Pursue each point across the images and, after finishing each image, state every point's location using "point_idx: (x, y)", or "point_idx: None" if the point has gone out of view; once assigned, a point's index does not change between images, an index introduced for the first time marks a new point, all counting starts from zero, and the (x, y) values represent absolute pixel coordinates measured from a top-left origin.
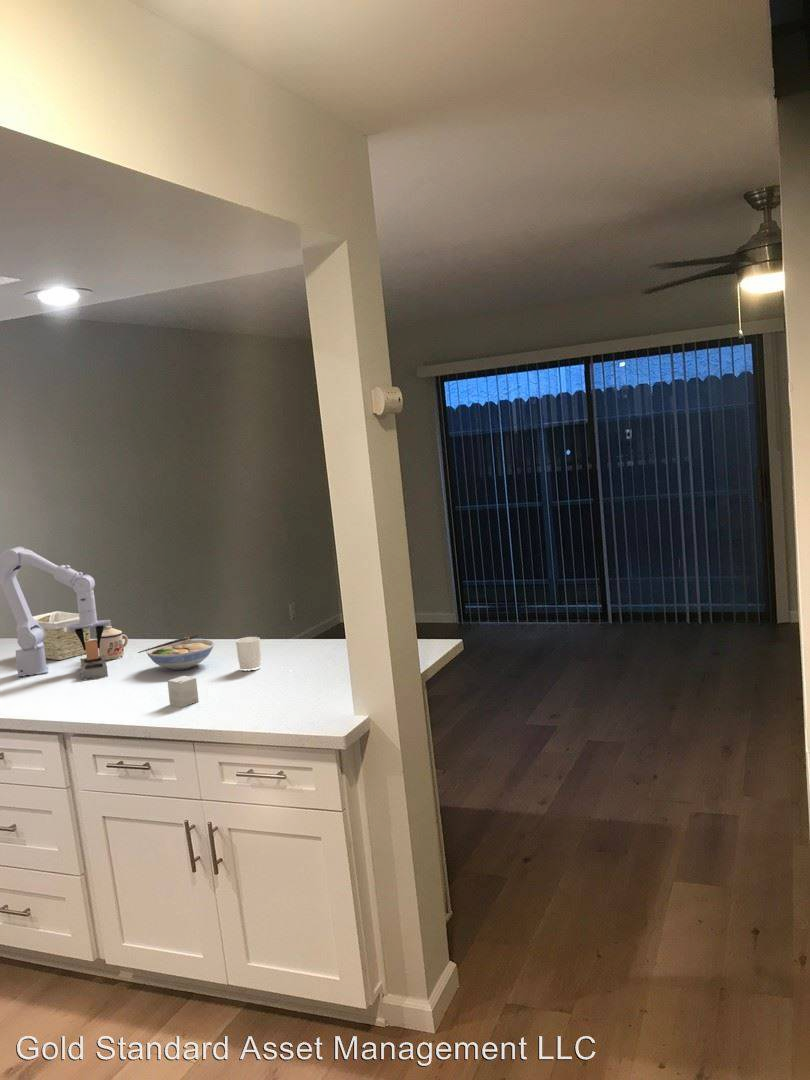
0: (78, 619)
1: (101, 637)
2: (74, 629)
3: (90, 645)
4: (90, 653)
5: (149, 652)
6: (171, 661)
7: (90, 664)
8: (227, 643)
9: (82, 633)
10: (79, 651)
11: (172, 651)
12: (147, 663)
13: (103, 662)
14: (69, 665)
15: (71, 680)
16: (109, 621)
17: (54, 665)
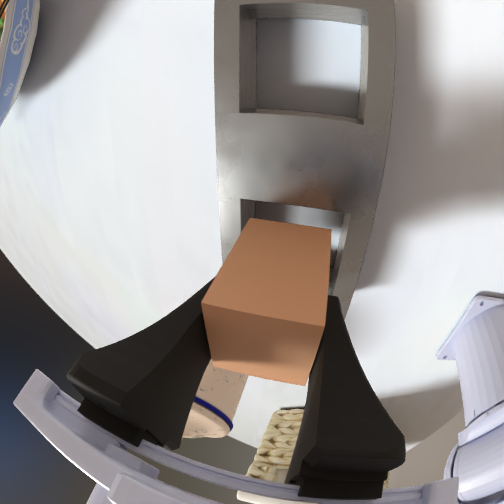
0: (272, 500)
1: (208, 406)
2: (381, 497)
3: (276, 294)
4: (297, 250)
5: (10, 40)
6: None
7: (322, 131)
8: (5, 241)
9: (328, 433)
10: (302, 416)
11: None
12: (82, 154)
13: (230, 128)
14: (369, 348)
15: (441, 44)
16: (20, 401)
17: (401, 373)
